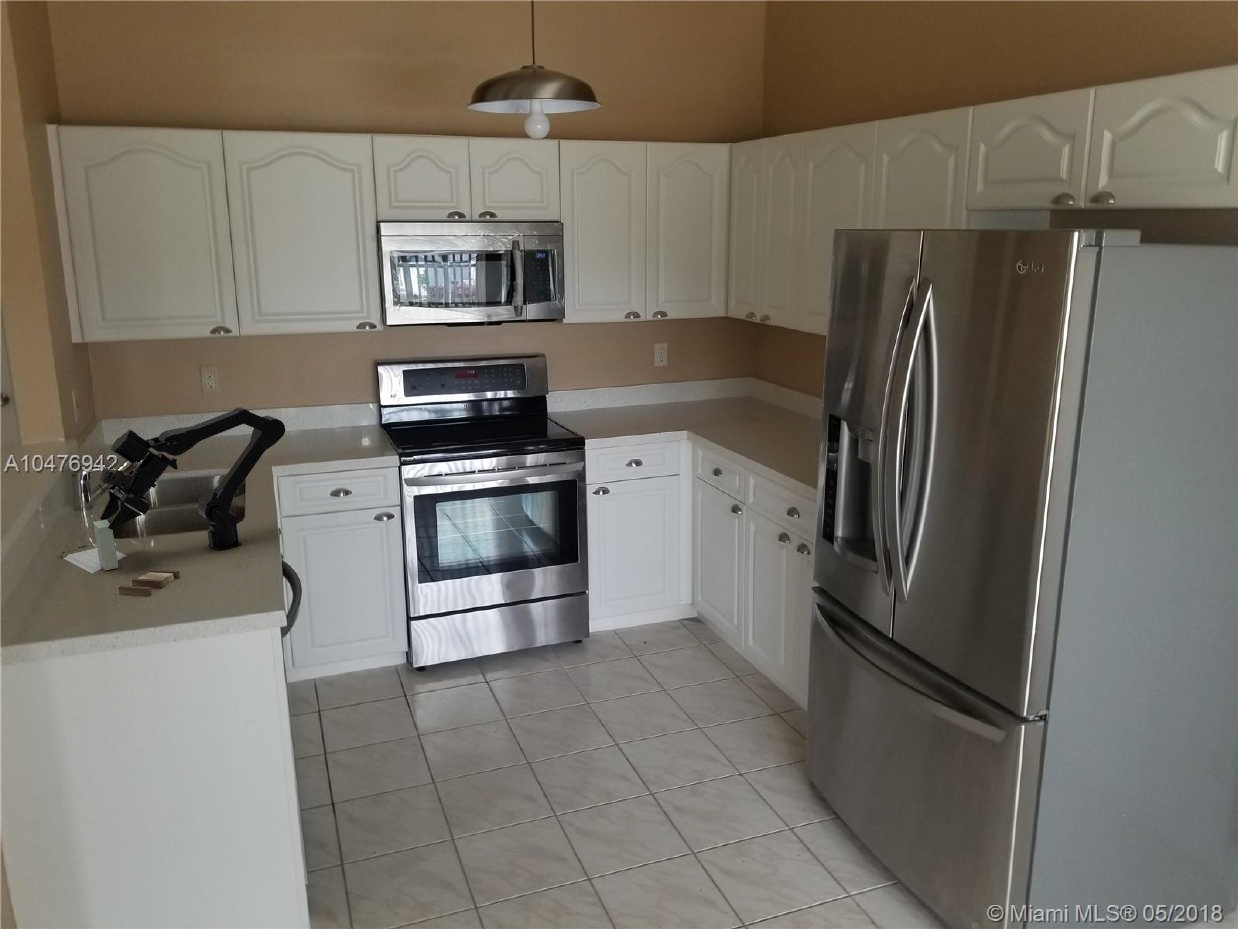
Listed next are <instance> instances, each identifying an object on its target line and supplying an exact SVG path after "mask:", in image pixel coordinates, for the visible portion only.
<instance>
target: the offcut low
mask: <svg viewBox="0 0 1238 929" xmlns="http://www.w3.org/2000/svg"><path fill="white" fill-rule="evenodd" d="M173 580H174V577H172V578H170V579H169V580H167V581H165V582H164V585H166V584H168V583H169V582H171V581H173Z"/></svg>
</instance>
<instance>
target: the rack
mask: <svg viewBox="0 0 1238 929" xmlns="http://www.w3.org/2000/svg"><path fill="white" fill-rule="evenodd" d="M149 572H153V573H172V574H173V576H174V580H173V581H171V582H169V583H168V584H166V585H164V582H163V580H156V579H138V578H132V579H131V585H132V586H131V585H120V586H118V588H117V590H118V594H119V595H121V596H137V597H151V596H152V595H154V594H156V593H157V592H159V591H160V590H162V589H163V588H165V587H168V586H169V585H170V584H172V583H174V582H176V581H177V580H179V579H181V575H180V570H177V569H176V570H175V569H173V570H172V569H159V568H157V569H155V568H154V569H153V568H151V569H149V570H148V572H147V573H149Z"/></svg>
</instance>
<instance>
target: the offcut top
mask: <svg viewBox="0 0 1238 929" xmlns="http://www.w3.org/2000/svg"><path fill="white" fill-rule="evenodd" d="M172 577H174V576H173V574H172V573H153V572H147V573H146V574H144V575H141V576H139V577H138V578H137V579H156V580H163V582H165V581H167V580H169V579H170V578H172Z"/></svg>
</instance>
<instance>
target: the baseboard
mask: <svg viewBox="0 0 1238 929" xmlns="http://www.w3.org/2000/svg"><path fill="white" fill-rule="evenodd" d="M94 546H95V544H94V545H92V547H94ZM89 547H91V545H90V546H88V545H87V544H84V545H82V546H79V547H78V548H77V549H76V551H77V550H80V549H84V548H89ZM73 551H75V549H72V552H73ZM69 552H71V550H70V551H68V553H69ZM65 553H67V552H66V551H65V552H64V551H63V552H62V554H63V555H64V554H65ZM116 554H117V561H119V560H121V559H123V558H125V557H127V554H124V553H122V552H120V551H118V550H116ZM63 555H60V556H58V557H57V559H60V560H65V561H67V562H68V563H71V564H72V565H75V566H76V567H78V568H80V569H82V570H84V571H86V572H88V573H90V574H94V573H97V572H98V571H100V570H101V569H104V568H103V567H102V565H101V564H100V561H99V555H98V549H97V547H94V548H92V549H91V548H89V549H87V550H82V551H80V552H79V551H78V552H75V553H74V552H73V553H69V554H67V556H66V557H63Z"/></svg>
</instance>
